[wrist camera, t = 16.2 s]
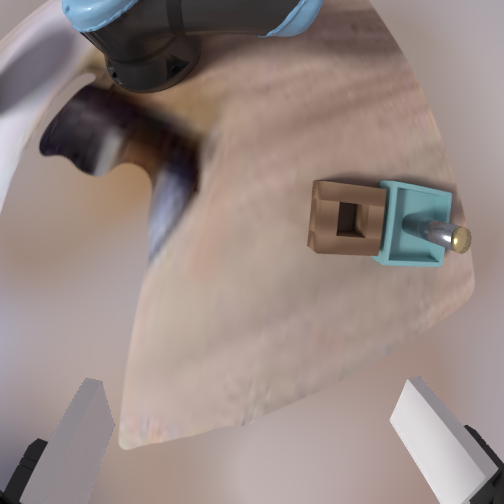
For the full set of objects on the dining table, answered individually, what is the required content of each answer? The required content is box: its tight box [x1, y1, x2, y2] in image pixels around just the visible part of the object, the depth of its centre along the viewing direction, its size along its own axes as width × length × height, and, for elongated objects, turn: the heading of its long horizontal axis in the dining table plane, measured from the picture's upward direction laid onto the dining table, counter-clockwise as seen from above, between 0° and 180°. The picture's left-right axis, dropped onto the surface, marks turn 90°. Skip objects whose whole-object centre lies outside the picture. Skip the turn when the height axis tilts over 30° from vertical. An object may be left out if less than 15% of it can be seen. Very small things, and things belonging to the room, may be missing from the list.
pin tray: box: [371, 180, 452, 267], centre depth 44 cm, size 13×13×4 cm
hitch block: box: [307, 181, 386, 256], centre depth 42 cm, size 10×10×5 cm
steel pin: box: [402, 214, 471, 254], centre depth 38 cm, size 4×4×14 cm
